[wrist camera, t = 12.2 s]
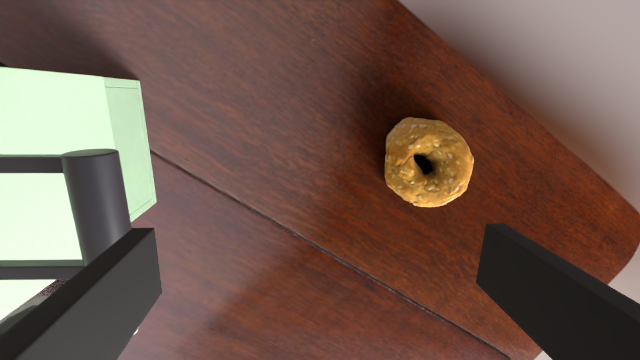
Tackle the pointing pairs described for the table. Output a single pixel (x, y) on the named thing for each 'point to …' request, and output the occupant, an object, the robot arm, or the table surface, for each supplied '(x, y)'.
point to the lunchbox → (131, 142)
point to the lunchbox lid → (55, 180)
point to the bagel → (437, 147)
